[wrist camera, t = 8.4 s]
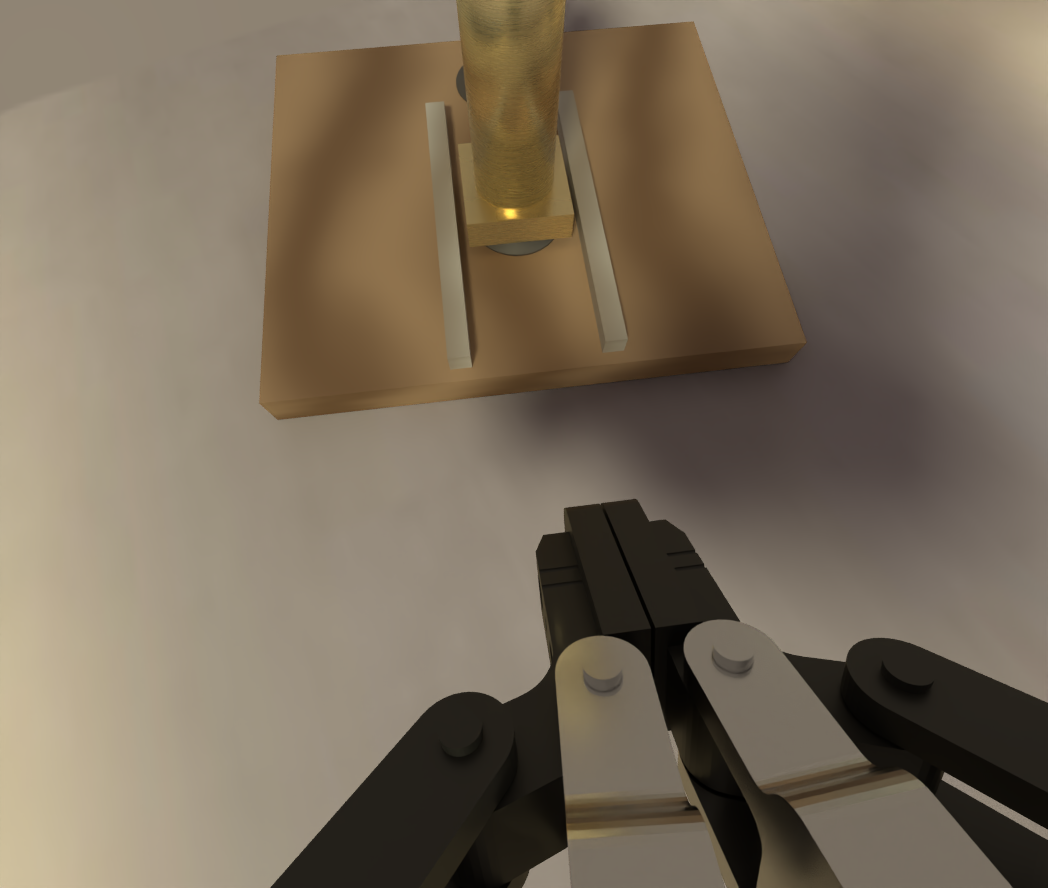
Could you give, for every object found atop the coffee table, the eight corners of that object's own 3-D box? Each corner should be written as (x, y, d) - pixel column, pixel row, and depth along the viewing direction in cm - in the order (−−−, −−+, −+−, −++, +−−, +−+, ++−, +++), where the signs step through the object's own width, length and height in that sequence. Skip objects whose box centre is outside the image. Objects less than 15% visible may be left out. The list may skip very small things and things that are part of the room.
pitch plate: (684, 53, 27) (698, 2, 25) (787, 362, 21) (818, 330, 19) (289, 86, 26) (268, 37, 24) (277, 419, 20) (248, 393, 18)
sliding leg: (556, 160, 22) (599, -437, 10) (571, 237, 21) (642, -343, 8) (461, 169, 22) (382, -427, 10) (469, 247, 21) (391, -331, 8)
